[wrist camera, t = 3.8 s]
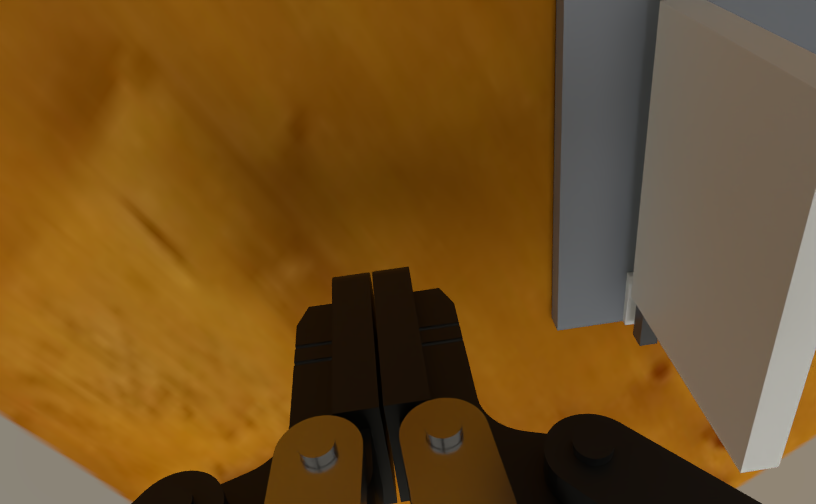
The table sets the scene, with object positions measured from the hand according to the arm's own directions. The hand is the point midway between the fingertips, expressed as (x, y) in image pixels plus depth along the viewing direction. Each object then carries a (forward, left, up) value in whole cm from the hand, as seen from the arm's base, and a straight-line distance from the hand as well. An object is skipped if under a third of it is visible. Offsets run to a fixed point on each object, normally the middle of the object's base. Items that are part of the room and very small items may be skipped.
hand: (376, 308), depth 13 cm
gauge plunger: (+1, +7, -4) cm, 8 cm away
